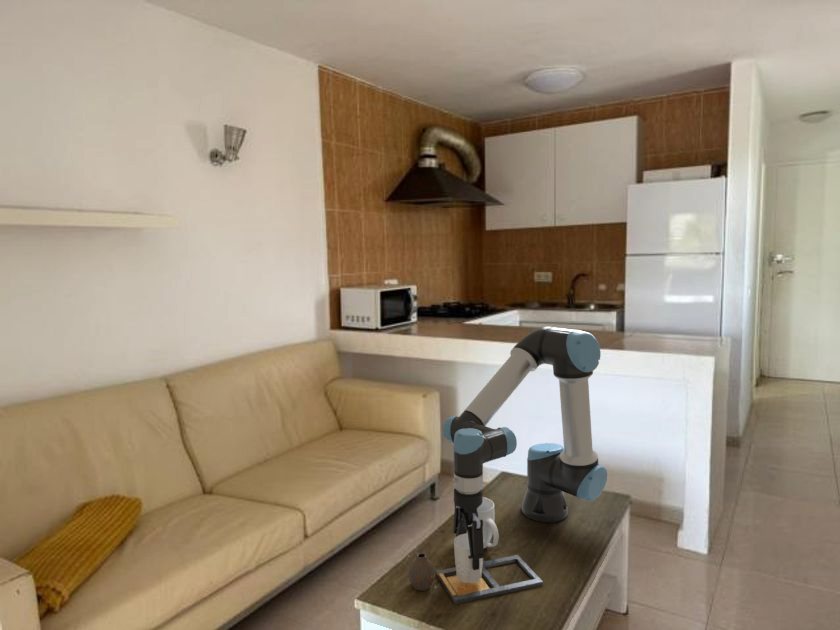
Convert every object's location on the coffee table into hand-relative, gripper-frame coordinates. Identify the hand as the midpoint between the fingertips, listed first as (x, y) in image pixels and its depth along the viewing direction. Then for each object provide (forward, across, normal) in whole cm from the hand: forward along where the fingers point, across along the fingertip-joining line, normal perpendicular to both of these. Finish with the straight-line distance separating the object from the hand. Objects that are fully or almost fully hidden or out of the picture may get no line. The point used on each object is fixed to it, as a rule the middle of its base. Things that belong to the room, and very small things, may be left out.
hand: (467, 570), depth 151 cm
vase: (+4, -3, -12) cm, 13 cm away
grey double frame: (+4, 0, +6) cm, 7 cm away
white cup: (+2, 0, 0) cm, 2 cm away
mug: (+4, -17, +10) cm, 20 cm away
